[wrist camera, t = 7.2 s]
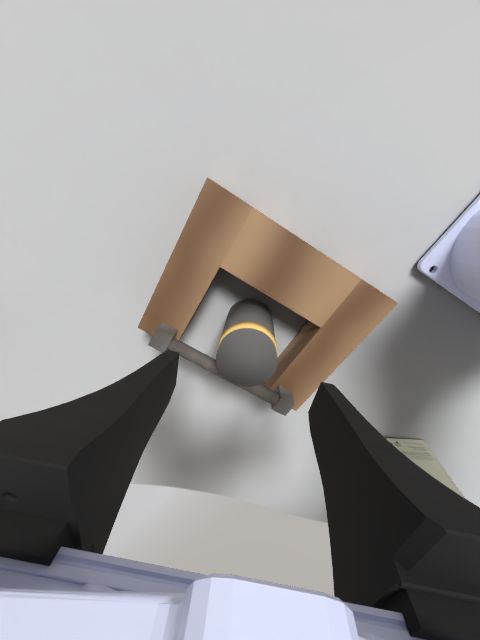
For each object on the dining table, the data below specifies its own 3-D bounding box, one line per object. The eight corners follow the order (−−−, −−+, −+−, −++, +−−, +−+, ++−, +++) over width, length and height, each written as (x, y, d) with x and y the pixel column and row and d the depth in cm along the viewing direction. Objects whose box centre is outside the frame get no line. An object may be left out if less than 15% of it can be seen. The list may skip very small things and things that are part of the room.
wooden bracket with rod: (380, 291, 18) (410, 312, 15) (292, 390, 22) (298, 425, 19) (214, 182, 16) (201, 173, 12) (151, 314, 20) (127, 337, 17)
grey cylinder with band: (282, 324, 20) (291, 367, 14) (245, 347, 21) (241, 396, 16) (254, 289, 19) (252, 321, 13) (217, 316, 20) (202, 356, 14)
